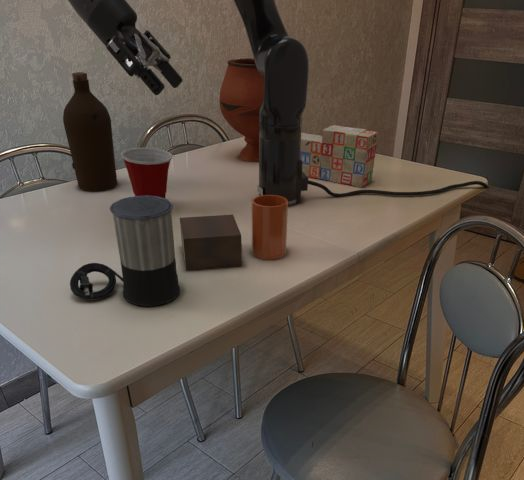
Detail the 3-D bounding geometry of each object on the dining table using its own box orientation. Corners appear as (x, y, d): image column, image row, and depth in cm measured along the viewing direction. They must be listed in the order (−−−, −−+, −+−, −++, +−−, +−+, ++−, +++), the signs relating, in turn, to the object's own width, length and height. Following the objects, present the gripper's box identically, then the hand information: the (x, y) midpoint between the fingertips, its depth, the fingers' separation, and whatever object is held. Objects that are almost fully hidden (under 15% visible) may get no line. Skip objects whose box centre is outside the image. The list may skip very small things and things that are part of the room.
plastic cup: (167, 218, 115) (161, 161, 108) (120, 214, 116) (112, 157, 109) (183, 201, 123) (179, 147, 116) (139, 197, 125) (132, 144, 118)
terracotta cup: (281, 244, 104) (283, 193, 98) (289, 258, 99) (291, 205, 93) (249, 246, 103) (249, 195, 97) (255, 260, 98) (255, 207, 92)
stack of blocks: (288, 173, 142) (290, 124, 135) (299, 167, 146) (302, 120, 139) (362, 187, 133) (368, 135, 126) (372, 181, 137) (378, 130, 130)
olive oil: (128, 182, 135) (113, 71, 120) (103, 194, 126) (84, 78, 112) (93, 177, 138) (74, 68, 124) (66, 189, 130) (43, 74, 115)
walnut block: (233, 244, 104) (232, 214, 100) (241, 266, 96) (241, 234, 92) (182, 247, 102) (179, 217, 99) (186, 270, 94) (183, 238, 91)
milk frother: (191, 297, 86) (184, 208, 78) (97, 326, 79) (78, 231, 70) (152, 265, 96) (142, 183, 87) (65, 289, 88) (45, 201, 80)
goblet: (301, 157, 155) (305, 60, 141) (255, 171, 143) (255, 67, 129) (254, 145, 166) (254, 54, 151) (207, 157, 154) (203, 59, 140)
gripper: (93, -11, 82) (168, 77, 86) (133, -11, 93) (197, 67, 98) (68, 27, 86) (141, 110, 90) (109, 23, 97) (172, 96, 102)
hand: (170, 88), depth 94 cm, fingers open, 8 cm apart
